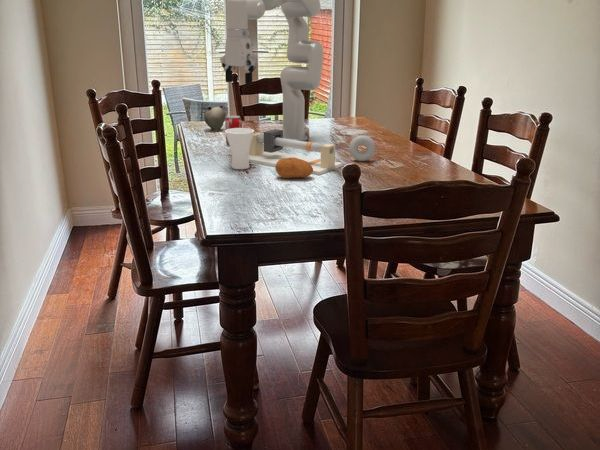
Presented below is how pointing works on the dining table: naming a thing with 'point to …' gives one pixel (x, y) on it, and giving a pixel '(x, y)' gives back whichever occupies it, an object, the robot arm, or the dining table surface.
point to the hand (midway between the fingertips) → (238, 82)
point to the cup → (240, 146)
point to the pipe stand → (272, 158)
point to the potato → (293, 168)
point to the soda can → (232, 123)
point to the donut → (358, 141)
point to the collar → (269, 140)
